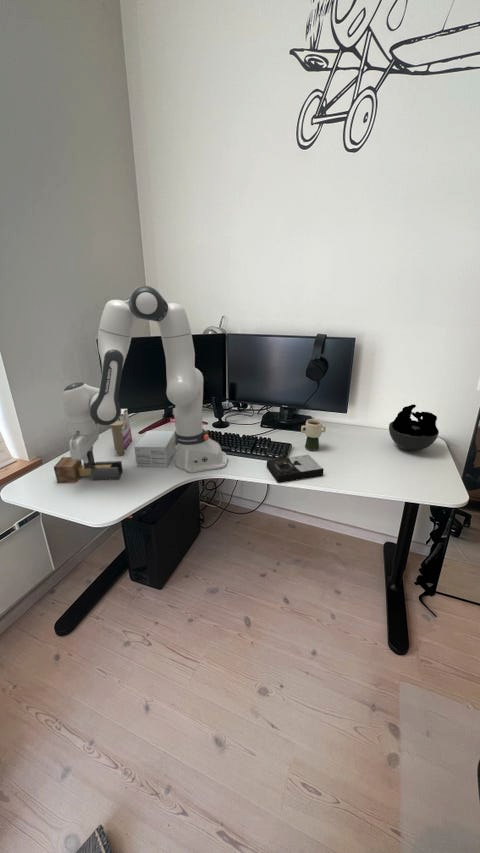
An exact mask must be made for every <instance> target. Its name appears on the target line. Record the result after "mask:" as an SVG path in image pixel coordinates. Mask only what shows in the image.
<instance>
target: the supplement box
mask: <svg viewBox="0 0 480 853" xmlns="http://www.w3.org/2000/svg"><path fill="white" fill-rule="evenodd" d="M175 431H176V430H175ZM175 431H172V430H169V431H168V430H166V431H165V430H147V431H145V432H144V434H143V435H142V437H141V438H140V439H139V441H138V442H137V444H136V445H134V446H133V448H134V456H135V463H136V467H149V468H150V467H154V468H155V467H156V468H168V466H169V464H170V462H171V460H172V458H173V456H174V455H175V454H176V443H175Z"/></svg>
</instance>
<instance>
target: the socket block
mask: <svg viewBox="0 0 480 853" xmlns="http://www.w3.org/2000/svg"><path fill="white" fill-rule="evenodd" d="M78 465H83V461H82V460H72V459H71V456H64V457H63V456H62V457H61V458H60V459H59V461H58V462H56V464H55V465H54V466H53V470H54V474H55V479H56V483H57V484H72V483H73V484H76V483H77V482H78V481H79V479H80V478H81V477H82V476H77V472H76V468H77V466H78Z"/></svg>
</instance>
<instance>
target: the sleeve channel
mask: <svg viewBox="0 0 480 853" xmlns="http://www.w3.org/2000/svg"><path fill="white" fill-rule="evenodd" d="M103 464H112V467H105V468H91V473H92V478H91V479H92V481H93V482H95V481H96V482H97V481H100V482H101V481H119V480H120V479H121V477H122V476H123V473H124V469H123V463H122V460H119V461H118V460H117V461H115V460H113V461H109V460H108V461H95V465H103Z"/></svg>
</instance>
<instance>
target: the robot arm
mask: <svg viewBox="0 0 480 853" xmlns="http://www.w3.org/2000/svg"><path fill="white" fill-rule="evenodd" d="M139 320H146V321H153V322H156V323H157V324H158V329H159V333H160V337H161V338H160V339H161V341H162V347H163V352H164V357H165V369H166V371H165V372H166V392H165V394H166V396H167V397H166V398H167V399H168V401H169V402H170V403H172V404H173V405H175V407H174V413H173V418H174V427H175V443H176V451H175V457H174V462H173V463H174V465H175V467H177V468H179V469H182V470H184V471H186V472H187V473H196V472H204V471H211V470H220V469H224V468H226V466H227V464H228V461H229V459H228V455H227V453H226V452H224V451H222V447H221V445H220V444H219V443H218V442H217V441H216V440H213V439H212V438H210V436H209V432H208V429H207V428H205V429H204V427H203V426H204V425H203V403H204V402H203V400H204V376H203V372H201V371H200V370H199V369H198V368H196V366H195V361H196V359H195V357H196V353H195V347H194V346H195V345H194V341H193V335H192V331H191V330H192V329H191V326H190V325H191V324H190V322H189V319H188V315H187V313H186V309H185V308H184V306H183V305H181V304H179V303H176V302H167V301H166V300H165V299H164V297H163V296H162V295H161V293H160V292H159V291H158V290H157V289H155V288H153V287H152V286H148V285H141V286H137V287H136V288H134V289H133V291H132V292H131V293H130V296H129V297H128V298H127V299H126V300H123V299H122V300H121V299H111V300H108V302H106V303H105V306H104V309H103V311H102V314H101V317H100V322H99V326H98V332H97V347H98V348H97V350H98V353H99V357H100V362H101V375H100V383H99V387H94V386H92V385H88V384H86V383H85V382H74V383H72V384H69V385H66V387H65V388H64V389H63V390H62V391H63V392H62V399H63V400H62V402H63V407H64V411H65V412H66V415H67V418H66V420H67V425H68V426H67V427H68V430H69V434H70V435H72V436H71V439H70V440H69V443H68V445H69V446H68V447H69V454H70V457H71V459H72V460H81V461H82V464H84V463H88V462H89V457H87V452H88V451H94V445H95V443H96V442H97V441H98V439H99V437H100V431H99V425H100V426H101V425H102V426H108V425H111V424H113V423H115V422H116V421H117V420H118V419H119V418H120V416H121V409H122V408H121V405H120V401H119V392H120V385H121V379H122V372H123V369H124V364H125V361H126V359H127V355H128V353H129V349H130V346H131V341H132V338H133V337H132V336H133V333H134V332H133V330H134V327H135V324H136V322H137V321H139Z"/></svg>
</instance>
